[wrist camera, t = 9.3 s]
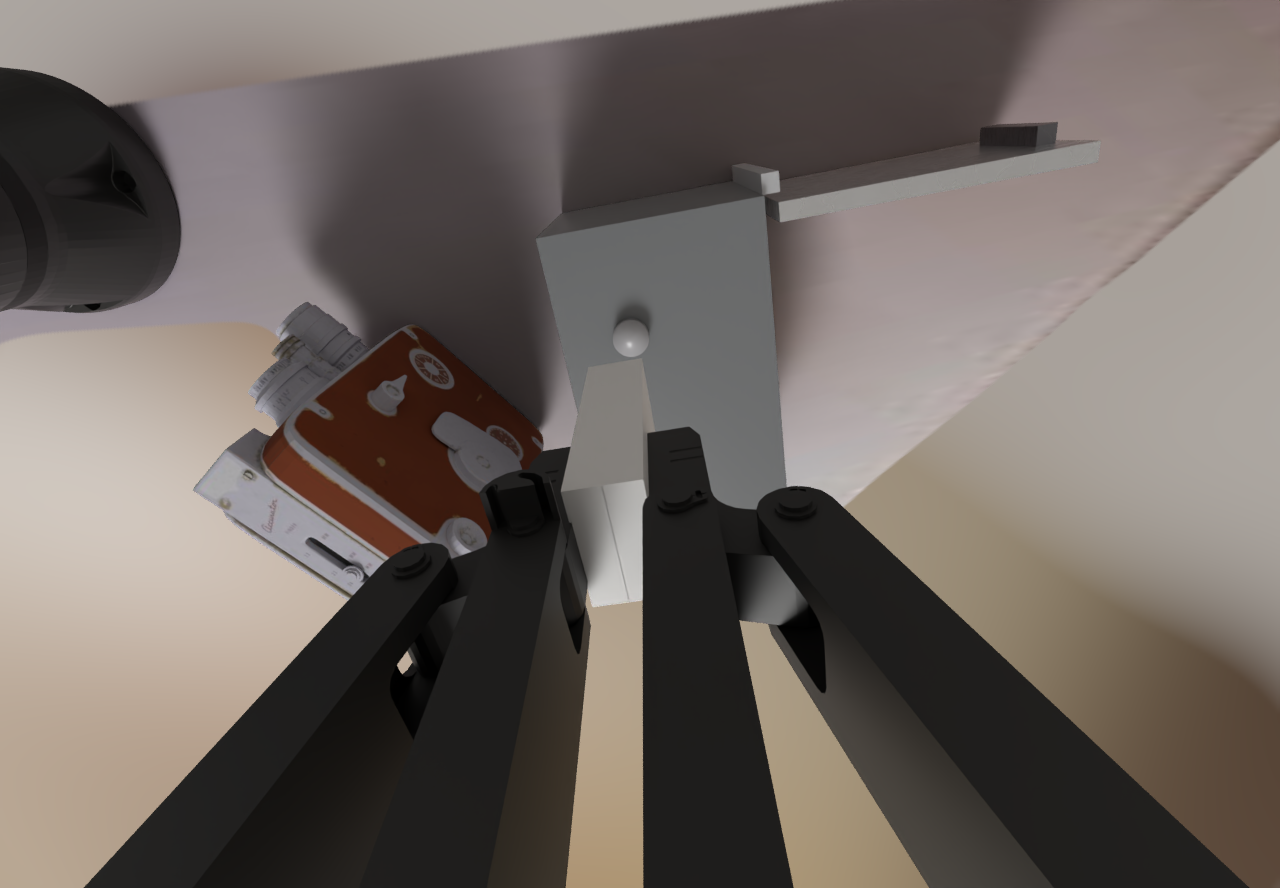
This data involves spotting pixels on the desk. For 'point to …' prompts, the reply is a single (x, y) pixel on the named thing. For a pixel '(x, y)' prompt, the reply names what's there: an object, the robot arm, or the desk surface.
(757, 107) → the desk surface
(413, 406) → the cine camera
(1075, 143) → the side door
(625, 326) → the grey cabinet with knob
